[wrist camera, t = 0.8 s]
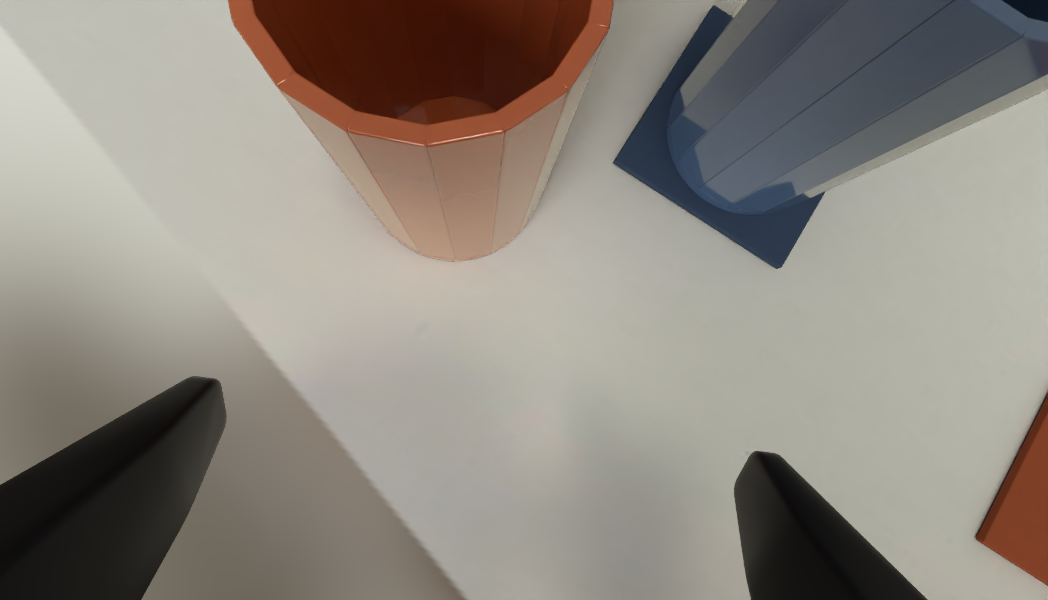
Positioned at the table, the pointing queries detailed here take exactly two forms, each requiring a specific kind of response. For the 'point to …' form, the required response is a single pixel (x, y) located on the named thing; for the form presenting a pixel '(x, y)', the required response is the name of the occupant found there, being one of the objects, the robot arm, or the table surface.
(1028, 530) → the rust mat
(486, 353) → the table surface
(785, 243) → the blue mat
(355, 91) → the terracotta cup
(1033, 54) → the blue cup
